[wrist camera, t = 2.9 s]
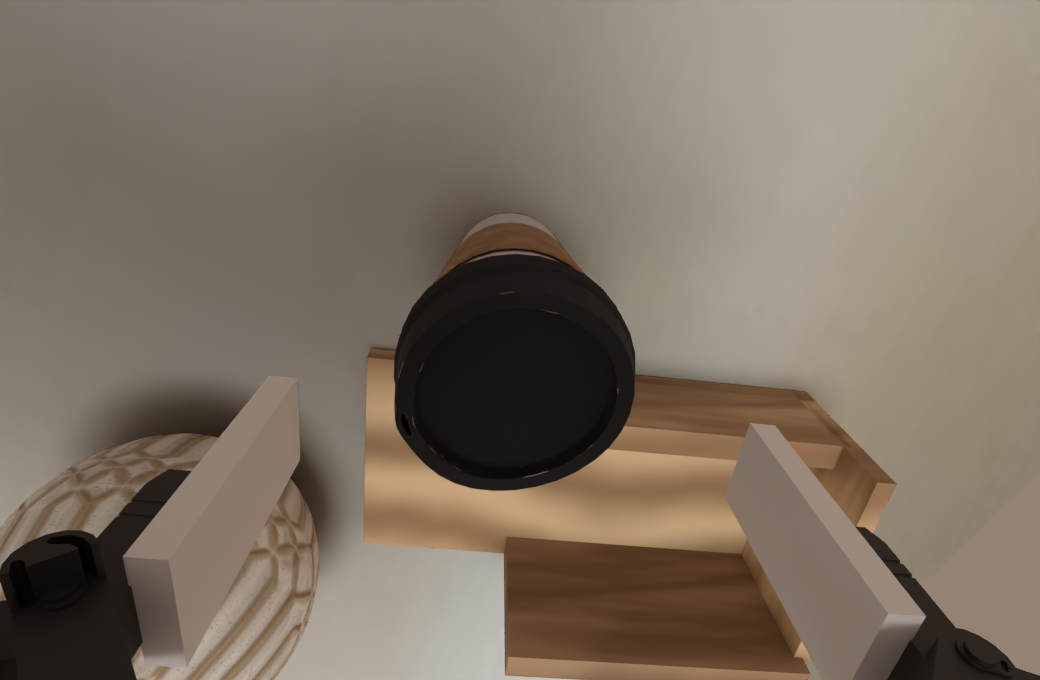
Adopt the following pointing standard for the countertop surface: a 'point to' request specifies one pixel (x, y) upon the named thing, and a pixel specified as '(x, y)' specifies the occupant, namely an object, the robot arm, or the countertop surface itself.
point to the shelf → (628, 534)
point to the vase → (255, 591)
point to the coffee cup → (512, 363)
